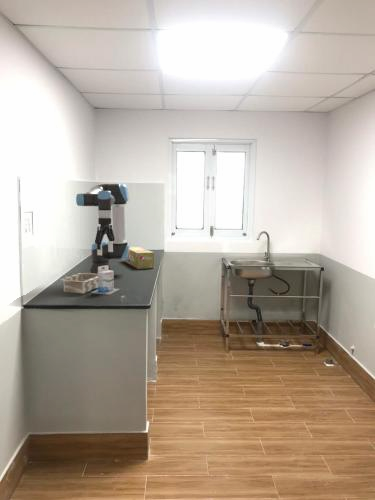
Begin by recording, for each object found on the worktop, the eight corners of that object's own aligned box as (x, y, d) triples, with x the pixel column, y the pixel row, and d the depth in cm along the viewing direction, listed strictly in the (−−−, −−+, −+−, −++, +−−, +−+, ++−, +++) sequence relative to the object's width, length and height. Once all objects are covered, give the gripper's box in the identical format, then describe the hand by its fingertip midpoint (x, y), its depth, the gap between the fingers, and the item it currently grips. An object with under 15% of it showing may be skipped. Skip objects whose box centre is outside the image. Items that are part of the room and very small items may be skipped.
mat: (102, 288, 259) (102, 287, 259) (119, 289, 256) (119, 289, 256) (90, 293, 246) (90, 292, 246) (109, 294, 243) (109, 294, 243)
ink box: (103, 292, 247) (102, 267, 245) (97, 291, 250) (97, 266, 248) (114, 290, 253) (113, 265, 251) (108, 288, 256) (108, 264, 254)
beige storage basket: (80, 283, 271) (80, 272, 270) (106, 285, 266) (106, 274, 265) (58, 292, 247) (57, 280, 247) (85, 294, 242) (85, 282, 241)
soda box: (154, 268, 330) (154, 252, 329) (137, 269, 325) (137, 253, 323) (139, 260, 367) (139, 246, 366) (124, 261, 362) (124, 246, 360)
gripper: (108, 216, 258) (109, 250, 261) (88, 218, 234) (88, 256, 237) (120, 216, 256) (120, 250, 259) (100, 219, 232) (100, 256, 235)
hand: (105, 253), depth 248 cm, fingers open, 13 cm apart
